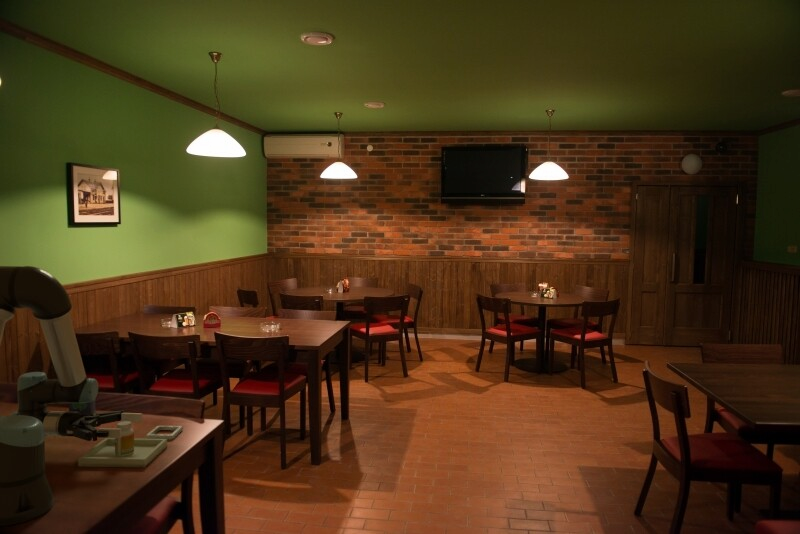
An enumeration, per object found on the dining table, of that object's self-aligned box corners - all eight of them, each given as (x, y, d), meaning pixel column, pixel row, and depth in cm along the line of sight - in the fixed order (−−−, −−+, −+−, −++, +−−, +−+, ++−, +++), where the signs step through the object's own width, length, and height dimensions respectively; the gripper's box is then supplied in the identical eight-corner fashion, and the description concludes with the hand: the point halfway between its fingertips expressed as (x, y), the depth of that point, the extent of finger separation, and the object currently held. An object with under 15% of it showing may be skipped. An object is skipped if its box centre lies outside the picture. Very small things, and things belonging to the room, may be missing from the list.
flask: (97, 414, 209) (96, 384, 209) (92, 417, 206) (91, 386, 205) (71, 413, 210) (70, 383, 209) (66, 416, 207) (65, 386, 206)
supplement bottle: (137, 450, 175) (137, 420, 174) (127, 457, 169) (126, 426, 169) (122, 449, 175) (121, 419, 175) (111, 456, 170) (110, 425, 170)
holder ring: (172, 439, 186) (172, 435, 186) (145, 439, 186) (145, 435, 186) (182, 430, 195) (182, 426, 195) (157, 429, 195) (157, 425, 195)
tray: (145, 467, 165) (144, 459, 164) (78, 466, 164) (77, 458, 164) (167, 446, 180) (167, 439, 180) (106, 445, 180) (106, 437, 180)
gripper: (86, 421, 185) (149, 423, 185) (37, 451, 160) (110, 453, 160) (86, 399, 184) (149, 401, 184) (37, 426, 159) (110, 428, 159)
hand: (131, 425), depth 172 cm, fingers open, 13 cm apart
